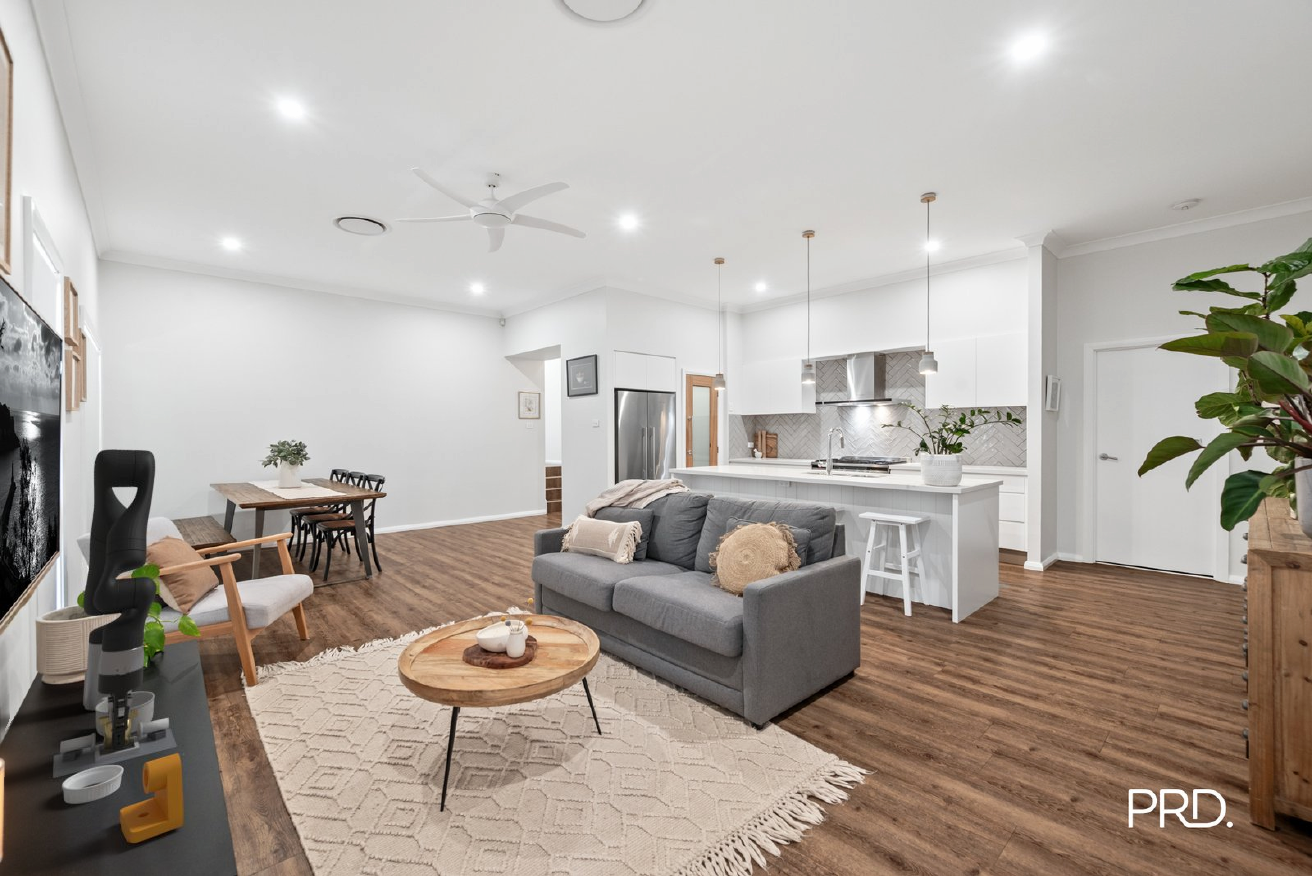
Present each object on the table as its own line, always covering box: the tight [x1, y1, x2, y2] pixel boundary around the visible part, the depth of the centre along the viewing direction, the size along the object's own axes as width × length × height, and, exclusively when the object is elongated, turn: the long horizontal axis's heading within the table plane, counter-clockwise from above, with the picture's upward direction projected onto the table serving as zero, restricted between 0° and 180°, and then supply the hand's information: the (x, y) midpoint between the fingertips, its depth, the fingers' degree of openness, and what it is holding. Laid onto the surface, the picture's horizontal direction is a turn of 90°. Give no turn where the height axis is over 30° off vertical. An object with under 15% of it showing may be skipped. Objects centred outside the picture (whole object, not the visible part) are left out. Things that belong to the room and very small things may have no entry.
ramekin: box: [61, 764, 124, 805], centre depth 118 cm, size 9×9×4 cm
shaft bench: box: [52, 717, 178, 779], centre depth 133 cm, size 20×12×6 cm, turn 135°
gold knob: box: [99, 710, 138, 750], centre depth 134 cm, size 6×4×7 cm
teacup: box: [94, 690, 156, 737], centre depth 145 cm, size 14×11×8 cm
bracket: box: [119, 752, 185, 844], centre depth 110 cm, size 11×7×12 cm, turn 51°
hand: (117, 743), depth 133 cm, fingers closed on gold knob, 4 cm apart
